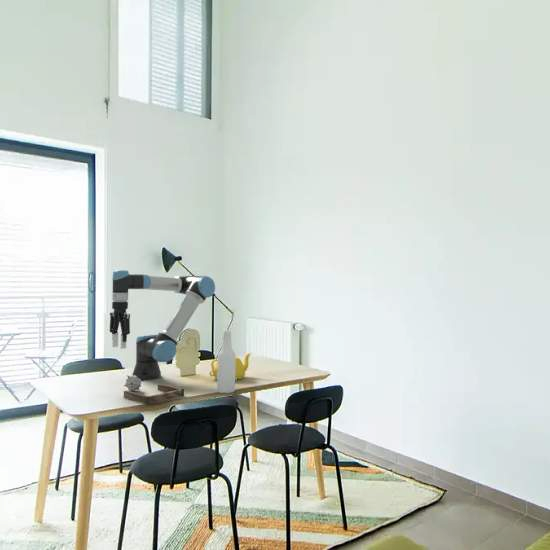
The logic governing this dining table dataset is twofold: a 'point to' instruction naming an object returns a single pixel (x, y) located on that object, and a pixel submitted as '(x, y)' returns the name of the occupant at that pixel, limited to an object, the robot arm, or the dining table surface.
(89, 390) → the dining table surface
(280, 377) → the dining table surface
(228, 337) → the alcohol
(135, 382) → the game die
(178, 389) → the brown wooden bar
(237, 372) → the teapot
